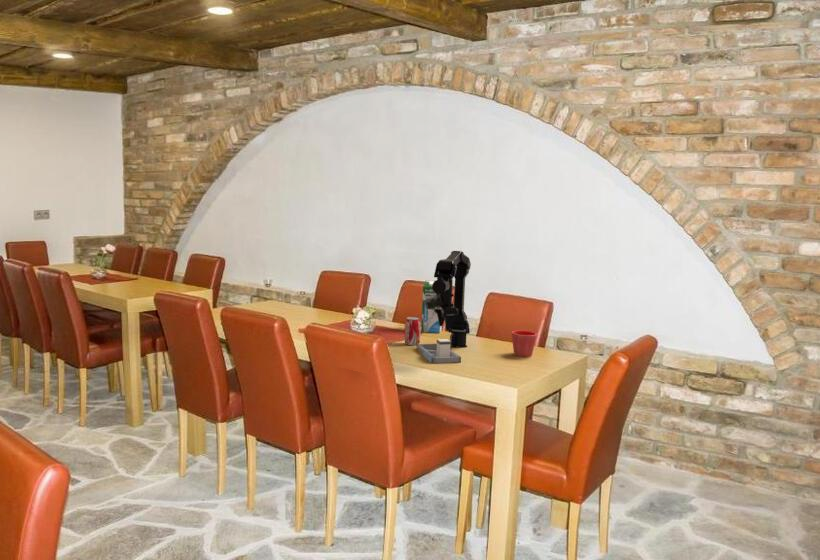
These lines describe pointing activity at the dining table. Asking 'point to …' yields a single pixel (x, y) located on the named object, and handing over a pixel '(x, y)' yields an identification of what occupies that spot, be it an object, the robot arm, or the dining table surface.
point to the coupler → (443, 348)
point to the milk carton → (429, 311)
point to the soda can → (412, 331)
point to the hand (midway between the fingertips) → (444, 328)
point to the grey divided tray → (431, 353)
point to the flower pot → (523, 342)
